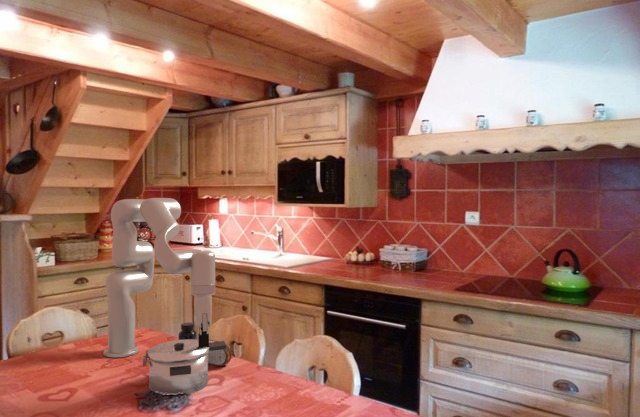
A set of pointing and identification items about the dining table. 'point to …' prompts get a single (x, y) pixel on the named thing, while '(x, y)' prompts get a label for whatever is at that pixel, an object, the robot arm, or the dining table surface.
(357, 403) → the dining table surface
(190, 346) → the cooker lid
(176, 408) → the dining table surface
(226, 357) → the tin
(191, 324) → the supplement bottle
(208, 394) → the dining table surface
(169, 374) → the cooker pot
